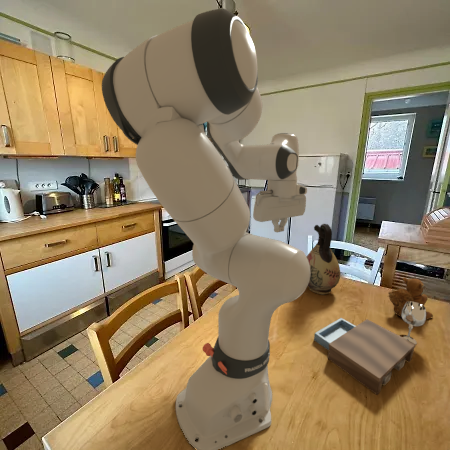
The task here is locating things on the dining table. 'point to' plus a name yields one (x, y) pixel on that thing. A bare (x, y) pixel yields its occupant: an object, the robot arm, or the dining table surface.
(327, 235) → the ceramic jug
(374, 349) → the wooden drawer box
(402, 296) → the stuffed squirrel
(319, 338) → the tray
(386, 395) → the dining table surface
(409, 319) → the wineglass
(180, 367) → the dining table surface
